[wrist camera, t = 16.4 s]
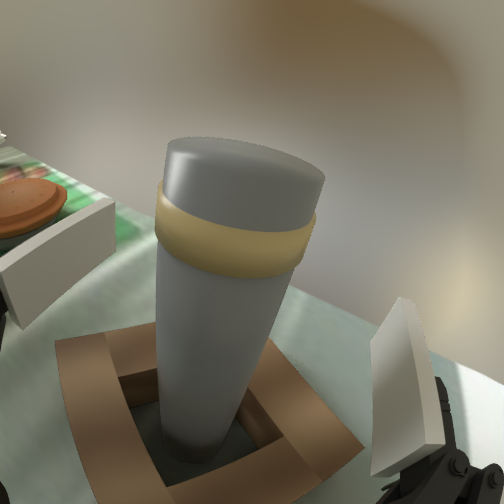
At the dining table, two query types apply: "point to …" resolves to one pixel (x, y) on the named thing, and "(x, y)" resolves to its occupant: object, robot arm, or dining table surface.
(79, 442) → the wooden square frame
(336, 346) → the dining table surface
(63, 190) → the pie
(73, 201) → the dining table surface
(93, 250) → the robot arm
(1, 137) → the giant panda
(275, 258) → the gray cylinder
